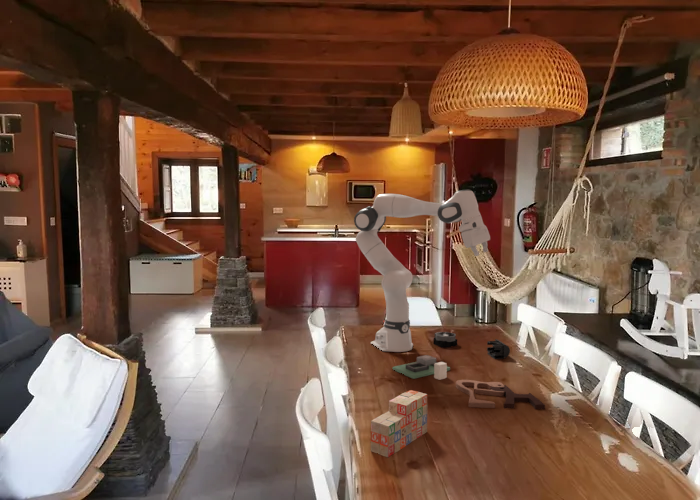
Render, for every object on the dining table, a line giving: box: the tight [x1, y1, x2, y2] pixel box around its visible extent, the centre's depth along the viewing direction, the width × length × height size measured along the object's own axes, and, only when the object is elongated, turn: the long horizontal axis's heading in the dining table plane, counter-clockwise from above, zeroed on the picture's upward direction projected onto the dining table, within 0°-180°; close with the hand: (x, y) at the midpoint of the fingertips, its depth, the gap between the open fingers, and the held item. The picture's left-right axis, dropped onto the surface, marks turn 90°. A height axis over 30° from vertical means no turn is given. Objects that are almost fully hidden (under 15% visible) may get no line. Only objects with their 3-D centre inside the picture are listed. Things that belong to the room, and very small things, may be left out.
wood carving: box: [455, 379, 546, 410], centre depth 189 cm, size 28×2×24 cm
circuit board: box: [392, 354, 451, 380], centre depth 219 cm, size 14×20×4 cm
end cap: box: [486, 339, 511, 360], centre depth 238 cm, size 10×7×7 cm
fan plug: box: [433, 361, 448, 381], centre depth 209 cm, size 3×5×6 cm, turn 122°
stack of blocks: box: [370, 389, 428, 458], centre depth 153 cm, size 21×6×12 cm, turn 141°
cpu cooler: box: [433, 331, 458, 349], centre depth 258 cm, size 10×6×10 cm
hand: (481, 253), depth 231 cm, fingers open, 8 cm apart
